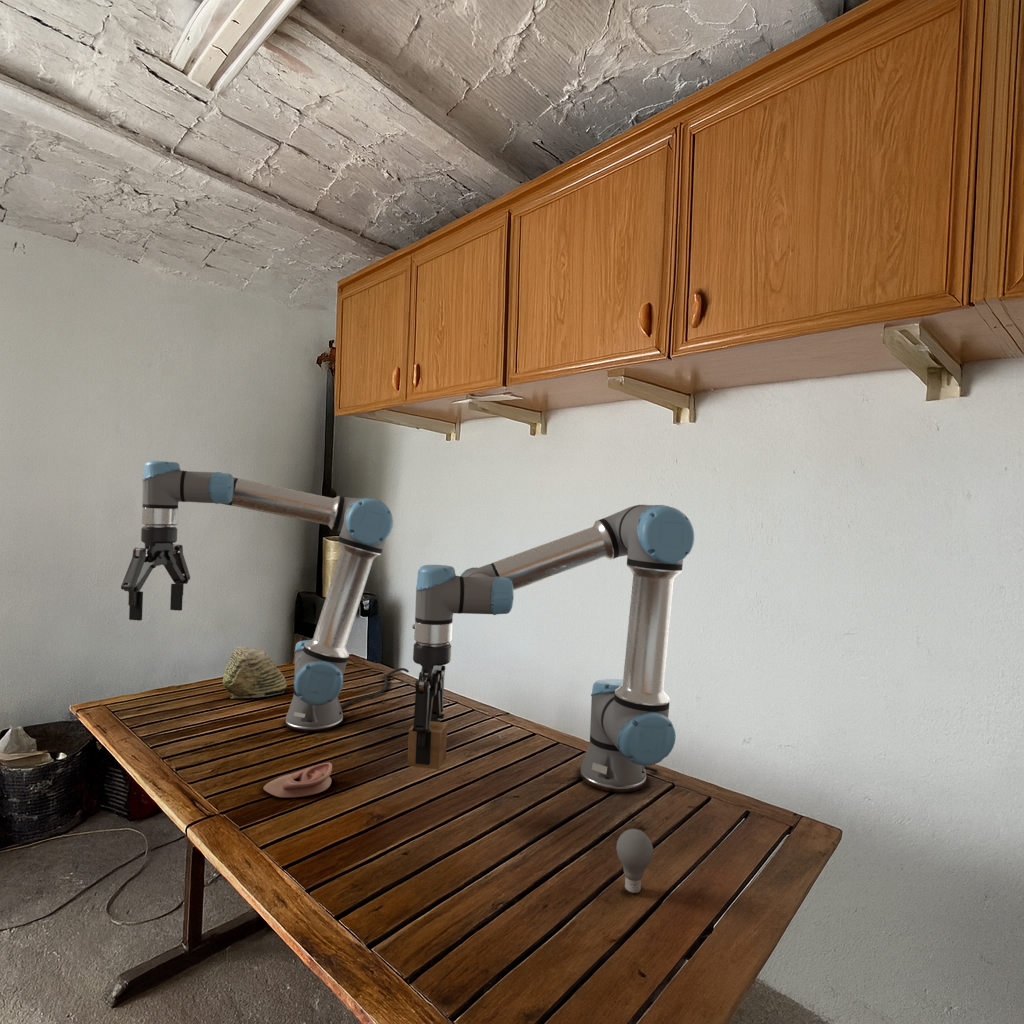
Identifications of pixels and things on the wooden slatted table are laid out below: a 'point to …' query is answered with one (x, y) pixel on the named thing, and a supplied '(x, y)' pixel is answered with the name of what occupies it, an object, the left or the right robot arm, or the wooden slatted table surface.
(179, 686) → the wooden slatted table surface
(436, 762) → the block
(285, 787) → the anatomical model
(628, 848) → the light bulb
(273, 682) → the fossil
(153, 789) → the wooden slatted table surface
